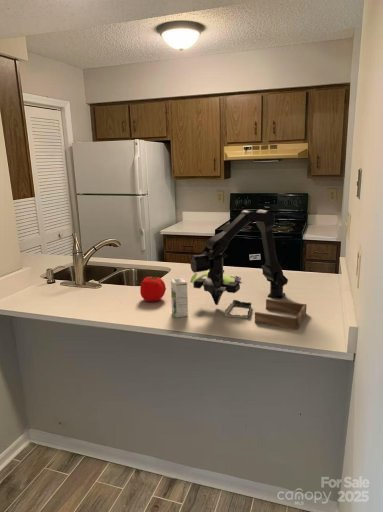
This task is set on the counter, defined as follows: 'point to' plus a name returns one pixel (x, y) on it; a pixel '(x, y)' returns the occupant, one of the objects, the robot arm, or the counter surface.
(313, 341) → the counter surface
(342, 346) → the counter surface
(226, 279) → the figurine
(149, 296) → the tomato
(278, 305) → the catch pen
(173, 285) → the white tall box
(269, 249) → the robot arm
